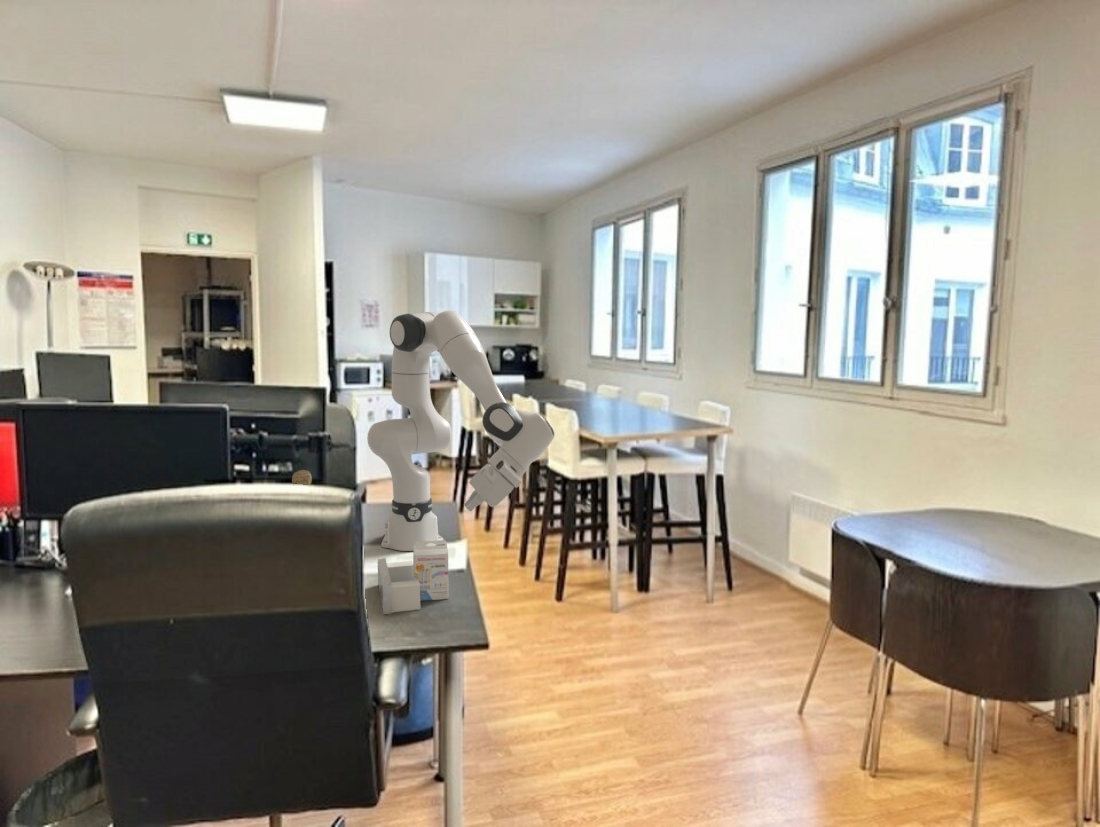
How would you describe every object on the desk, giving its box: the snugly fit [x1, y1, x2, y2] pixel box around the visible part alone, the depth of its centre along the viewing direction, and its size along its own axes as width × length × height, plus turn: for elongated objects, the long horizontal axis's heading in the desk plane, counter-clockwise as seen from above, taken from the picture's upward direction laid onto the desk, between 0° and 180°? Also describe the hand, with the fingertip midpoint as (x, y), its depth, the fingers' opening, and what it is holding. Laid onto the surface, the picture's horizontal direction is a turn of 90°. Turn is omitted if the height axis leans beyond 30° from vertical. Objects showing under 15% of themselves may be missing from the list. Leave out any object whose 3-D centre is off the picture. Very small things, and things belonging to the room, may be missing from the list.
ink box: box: [412, 539, 450, 602], centre depth 180 cm, size 9×8×13 cm
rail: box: [377, 557, 393, 615], centre depth 178 cm, size 20×2×7 cm, turn 17°
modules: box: [386, 560, 421, 613], centre depth 179 cm, size 18×7×6 cm, turn 17°
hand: (467, 508), depth 181 cm, fingers closed
